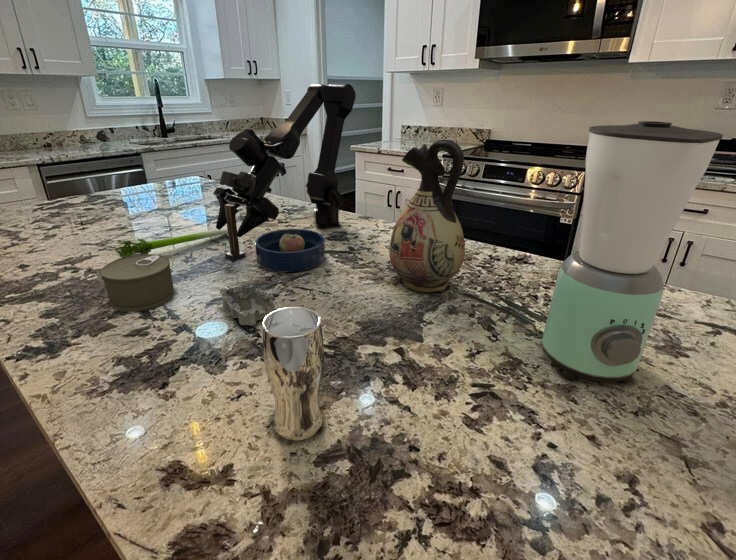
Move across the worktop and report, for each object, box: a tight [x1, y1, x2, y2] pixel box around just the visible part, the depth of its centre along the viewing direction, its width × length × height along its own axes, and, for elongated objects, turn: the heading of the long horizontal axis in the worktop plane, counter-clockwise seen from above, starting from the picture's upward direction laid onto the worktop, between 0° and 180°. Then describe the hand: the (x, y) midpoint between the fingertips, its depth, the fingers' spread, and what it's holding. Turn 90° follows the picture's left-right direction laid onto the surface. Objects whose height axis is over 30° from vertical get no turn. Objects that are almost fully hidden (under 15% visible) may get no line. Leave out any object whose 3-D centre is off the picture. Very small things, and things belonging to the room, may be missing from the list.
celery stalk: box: [113, 226, 228, 258], centre depth 106 cm, size 6×7×30 cm
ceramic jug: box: [388, 139, 466, 293], centre depth 82 cm, size 17×15×30 cm
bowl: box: [254, 228, 326, 273], centre depth 100 cm, size 16×16×5 cm
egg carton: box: [219, 283, 277, 327], centre depth 77 cm, size 11×8×4 cm
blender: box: [541, 120, 724, 384], centre depth 58 cm, size 19×13×35 cm
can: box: [100, 253, 175, 313], centre depth 81 cm, size 12×12×7 cm
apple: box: [279, 234, 305, 252], centre depth 99 cm, size 6×8×6 cm
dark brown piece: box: [224, 204, 246, 261], centre depth 99 cm, size 3×3×13 cm
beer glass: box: [261, 306, 325, 441], centre depth 50 cm, size 7×7×15 cm
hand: (227, 232), depth 98 cm, fingers open, 8 cm apart
